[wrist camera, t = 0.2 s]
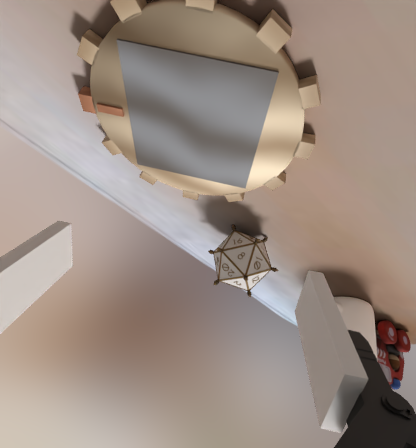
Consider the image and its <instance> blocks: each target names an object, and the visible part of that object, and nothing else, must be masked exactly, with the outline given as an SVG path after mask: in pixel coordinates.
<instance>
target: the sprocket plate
mask: <svg viewBox="0 0 416 448" xmlns="http://www.w3.org/2000/svg"><path fill="white" fill-rule="evenodd" d="M110 3H111V5H112V6H113V8H114V10H115V12H116V13H117V15H118V17H119V18H120V20H119V21H118V22H117V23H116V24H115V25H114V26H113V27H112V29H111V30H110V31H109V32H108V34H107V35H106V36H105V38H104V39H102V38H101V37H100V36H98V35H97V34H96V33H94V32H93V31H91V30H90V29H89V30H88V31H87V32H86V33H85V34H84V35H83V36H82V39H81V42H80V46H79V49H78V53H77V55H78V56H79V57H81V58H82V59H83V60H85V61H86V62H88V63H89V64H91V65H92V67H91V75H90V87H86V86H84V87H83V88H82V89H81V91H80V92H79V93H78V95H79V98H80V101H81V105H82V108H83V111H86V112H91V113H96V115H97V117H98V119H99V121H100V124H101V126H102V128H103V129H104V131H105V132H106V134H107V135H106V136H105V138H104V140H103V141H102V143H103V144H104V146H105V147H106V148H107V149H108V150H109V151H110V153H111V154H112V155H116V154H120V153H122V154H123V155H124V156H125V157H126V158H127V159H128V160H129V161H130V162H131V163H133V164H134V165H135V166H136V167H138V168H139V169H140V170H142V172H141V174H140V178H142V179H144V180H145V181H147V182H149V183H150V184H152V185H153V184H154V183H155V182H156V181H157V180H158V181H160V182H162V183H165V184H167V185H169V186H172V187H175V188H177V189H180V190H183V197H186V198H190V199H194V200H198V197H199V194H204V195H225V197H226V199H227V200H228V202H234V201H243V198H244V193H245V192H247V191H250V190H253V189H256V188H258V187H260V186H262V185H265V186H266V187H268V188H269V189H270V190H272V191H273V190H275V189H276V188H278V187H280V186H281V185H283V184H285V180H286V174H285V173H283V172H282V171H283V170H284V169H285V168H286V167H287V166H288V164H289V163H290V162H291V160H292V159H293V157H298V158H303V159H308V158H309V156H310V154H311V152H312V150H313V148H314V146H315V135H311V134H307V133H303V127H304V109H307V108H311V107H315V106H320V100H321V95H320V90H319V84H318V79H317V75H314V76H311V77H307V78H304V79H300V80H299V77H298V74H297V72H296V70H295V68H294V66H293V64H292V62H291V60H290V59H289V57H288V56H287V54H286V53H285V51H284V50H283V48H282V46H283V45H284V44H285V43H286V42H287V41H288V40H289V39H290V38H291V33H292V28H291V27H290V26H289V25H288V24H287V23H286V22H285V21H284V20H283V19H282V18H281V17H280V16H279V15H278V14H277V13H276V12H275V11H274V10H273V9H272V10H271V12H270V13H269V14H268V15H267V17H266V18H265V19H264V20H263V22H262V23H261V24H260V25H258V24H257V23H256V22H254V21H253V20H251V19H250V18H248V17H246V16H245V15H243V14H241V13H240V12H238V11H236V10H233V9H231V8H229V7H226V6H224V5H222V4H218V3H217V0H158V1H153V2H150V3H147V2H146V0H111V1H110Z"/></svg>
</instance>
